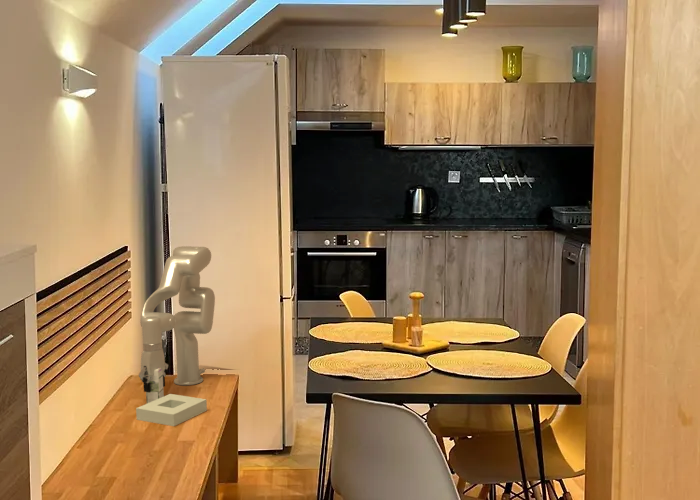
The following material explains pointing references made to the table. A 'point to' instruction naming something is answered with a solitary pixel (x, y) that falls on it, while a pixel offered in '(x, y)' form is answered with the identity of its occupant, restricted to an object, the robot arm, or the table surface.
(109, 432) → the table surface
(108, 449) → the table surface
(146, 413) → the socket holder
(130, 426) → the table surface
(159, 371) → the syrup box
